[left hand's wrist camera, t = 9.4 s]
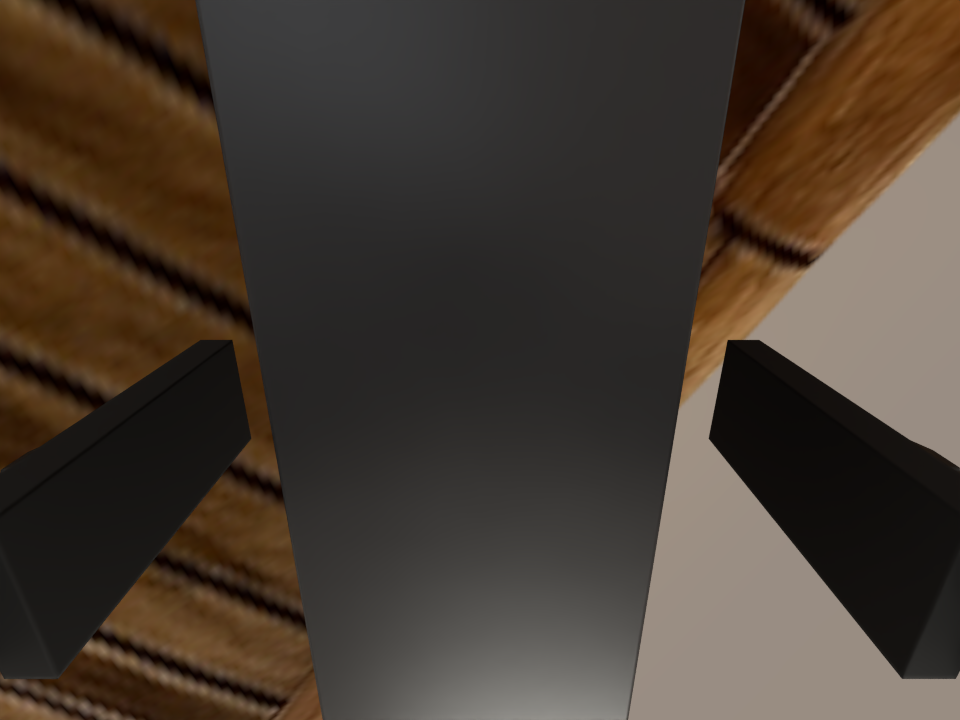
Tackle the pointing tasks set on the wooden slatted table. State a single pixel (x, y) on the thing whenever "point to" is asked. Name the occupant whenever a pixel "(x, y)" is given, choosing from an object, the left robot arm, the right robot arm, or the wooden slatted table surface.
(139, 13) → the wooden slatted table surface
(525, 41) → the bar
